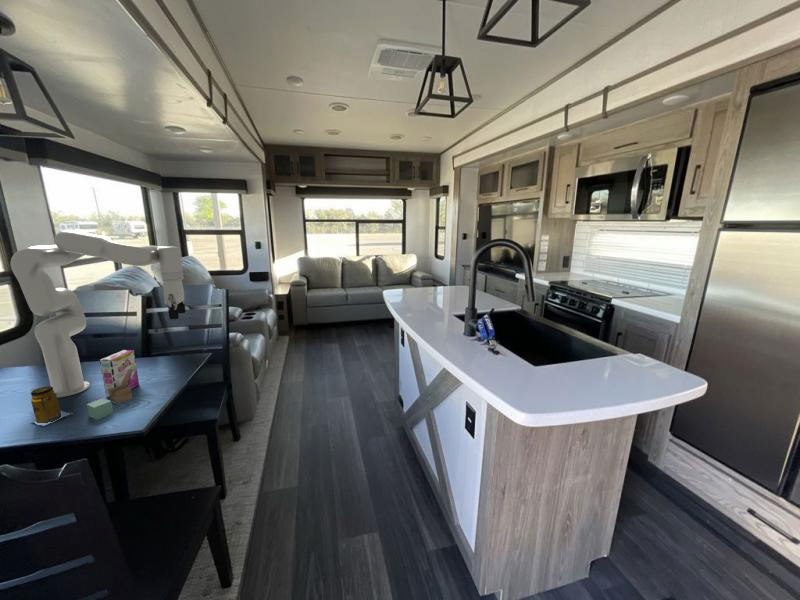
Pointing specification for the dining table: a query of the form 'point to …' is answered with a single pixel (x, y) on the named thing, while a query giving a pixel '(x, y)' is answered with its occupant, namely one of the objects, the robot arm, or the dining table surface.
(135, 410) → the dining table surface
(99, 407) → the green cube
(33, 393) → the condiment
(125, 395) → the walnut block
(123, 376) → the candy bar box
